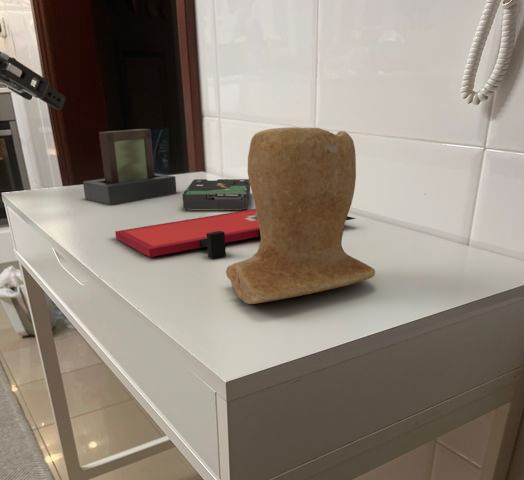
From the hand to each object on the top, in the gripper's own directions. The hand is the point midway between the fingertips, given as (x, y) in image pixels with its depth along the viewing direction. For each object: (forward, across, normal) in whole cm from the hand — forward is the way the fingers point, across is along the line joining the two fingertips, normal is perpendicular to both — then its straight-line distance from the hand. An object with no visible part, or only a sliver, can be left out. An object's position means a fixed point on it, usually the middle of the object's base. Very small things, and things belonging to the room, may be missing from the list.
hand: (46, 98), depth 85 cm
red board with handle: (+10, -37, +7) cm, 39 cm away
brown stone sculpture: (-2, -55, +11) cm, 56 cm away
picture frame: (+19, -4, +7) cm, 21 cm away
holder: (+19, -4, +7) cm, 21 cm away
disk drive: (+23, -19, +2) cm, 30 cm away
